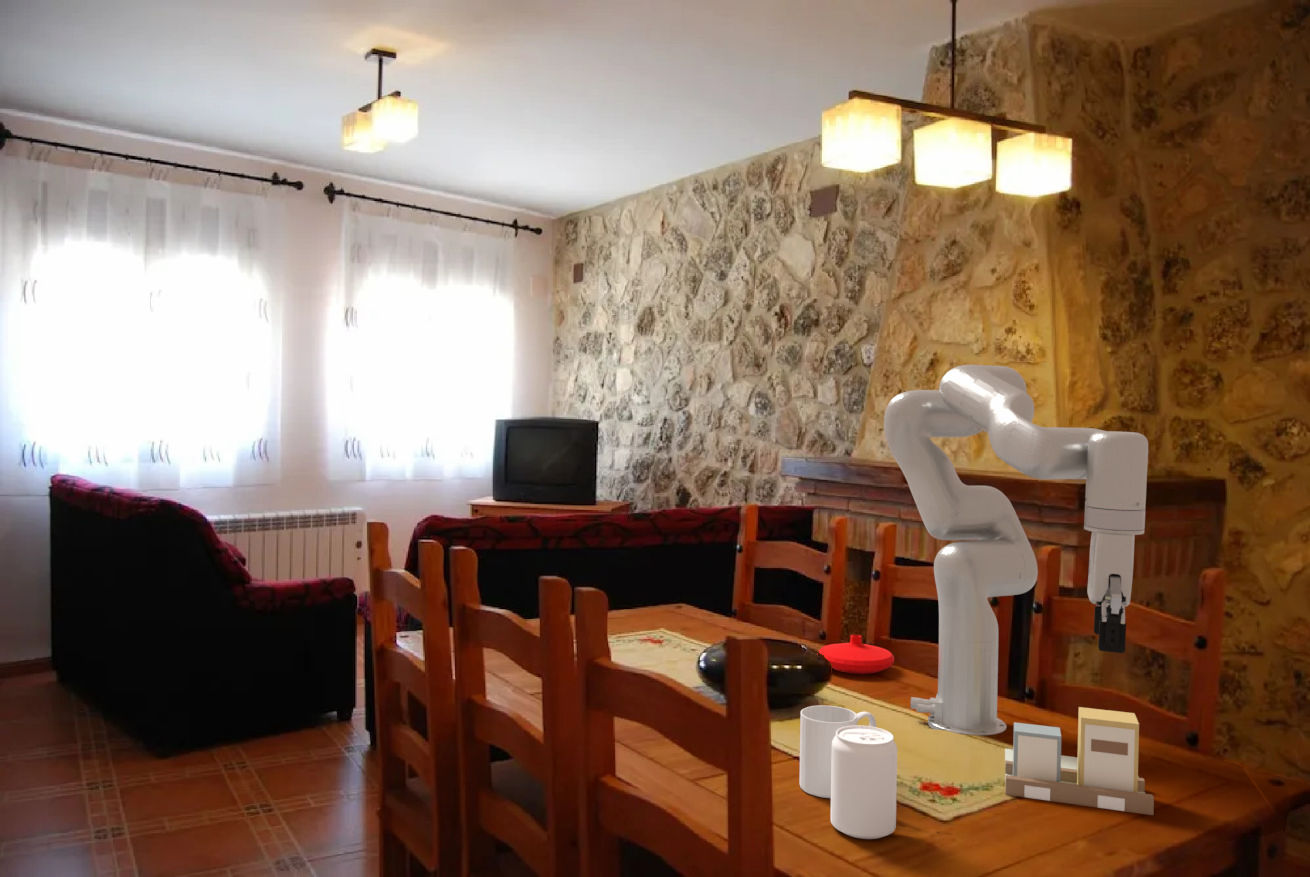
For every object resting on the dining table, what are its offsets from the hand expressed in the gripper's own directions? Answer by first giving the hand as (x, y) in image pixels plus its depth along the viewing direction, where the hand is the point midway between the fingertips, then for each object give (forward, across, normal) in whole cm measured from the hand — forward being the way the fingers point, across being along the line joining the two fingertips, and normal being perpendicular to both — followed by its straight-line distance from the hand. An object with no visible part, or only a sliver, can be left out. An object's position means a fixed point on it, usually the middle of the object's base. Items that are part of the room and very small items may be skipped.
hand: (1108, 642), depth 131 cm
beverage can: (+21, +25, -29) cm, 44 cm away
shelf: (+21, -2, -4) cm, 22 cm away
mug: (+22, +12, -34) cm, 43 cm away
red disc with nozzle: (+23, -51, -43) cm, 71 cm away
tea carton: (+20, +4, 0) cm, 20 cm away
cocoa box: (+20, +4, -9) cm, 22 cm away
